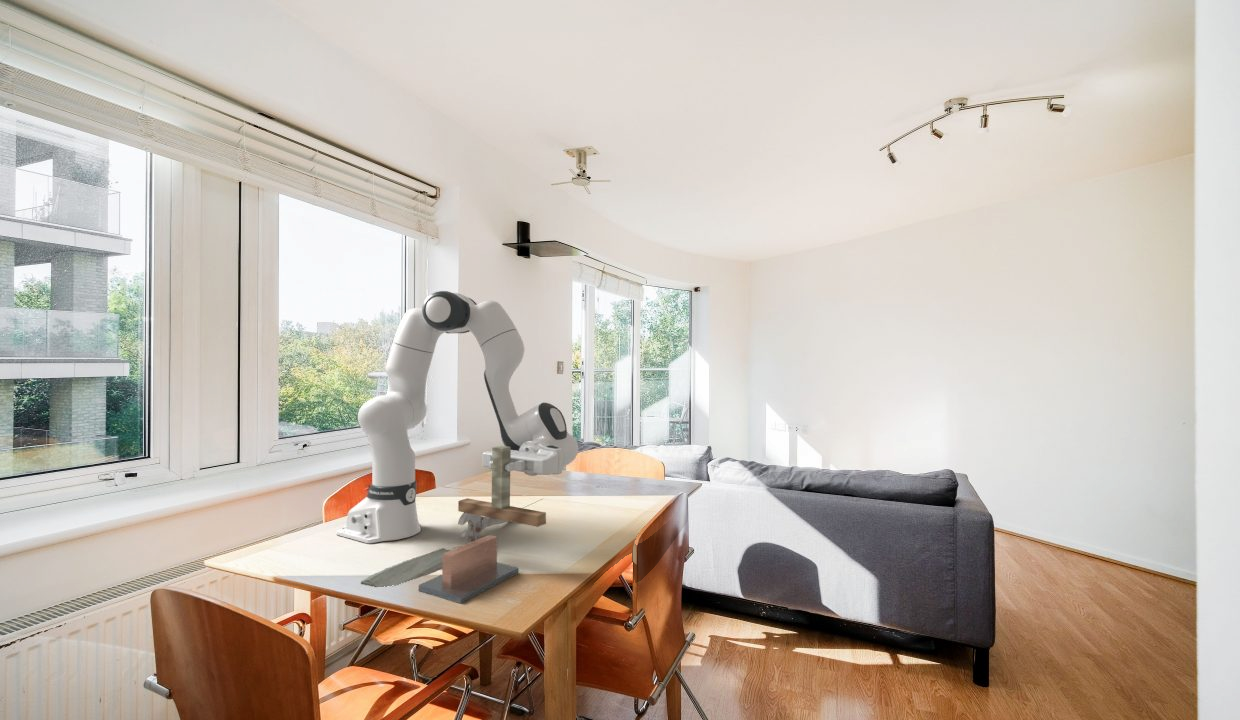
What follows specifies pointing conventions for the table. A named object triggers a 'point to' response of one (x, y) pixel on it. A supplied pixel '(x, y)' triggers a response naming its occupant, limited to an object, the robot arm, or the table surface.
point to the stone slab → (407, 570)
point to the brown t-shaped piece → (501, 496)
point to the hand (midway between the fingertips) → (498, 466)
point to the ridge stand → (469, 571)
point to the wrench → (476, 524)
